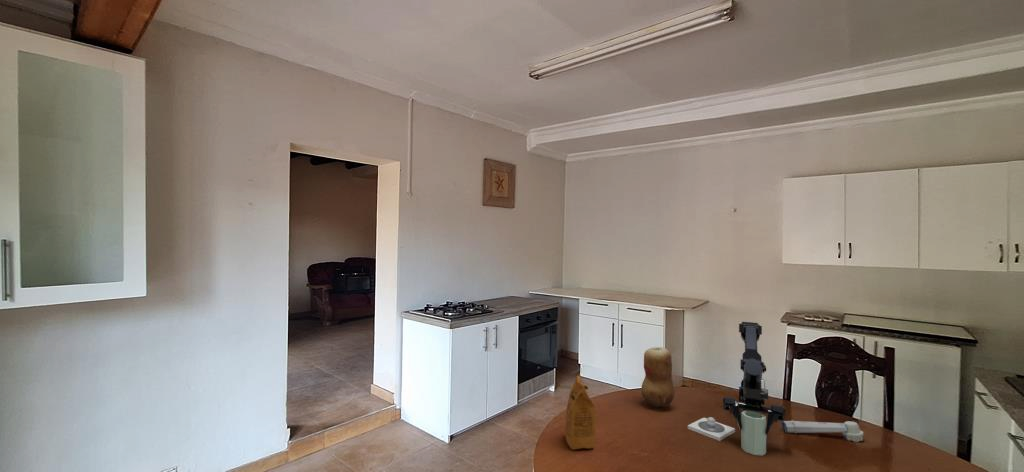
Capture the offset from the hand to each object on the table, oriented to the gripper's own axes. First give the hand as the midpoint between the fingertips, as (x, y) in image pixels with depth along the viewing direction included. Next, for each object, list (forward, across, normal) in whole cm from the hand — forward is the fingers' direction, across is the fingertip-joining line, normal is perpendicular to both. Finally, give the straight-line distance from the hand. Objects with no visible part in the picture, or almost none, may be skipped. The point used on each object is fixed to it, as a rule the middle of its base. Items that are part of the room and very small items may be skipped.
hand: (753, 432), depth 139 cm
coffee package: (+21, -54, -11) cm, 59 cm away
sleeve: (+4, 0, +6) cm, 7 cm away
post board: (-3, -13, +12) cm, 18 cm away
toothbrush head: (-14, +23, +24) cm, 36 cm away
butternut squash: (-12, -35, +22) cm, 43 cm away
